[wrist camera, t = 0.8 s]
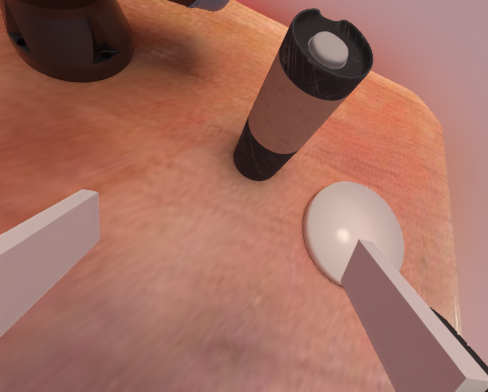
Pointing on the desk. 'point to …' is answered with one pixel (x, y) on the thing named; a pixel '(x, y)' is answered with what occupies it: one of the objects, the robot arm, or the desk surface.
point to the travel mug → (301, 90)
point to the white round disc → (349, 227)
